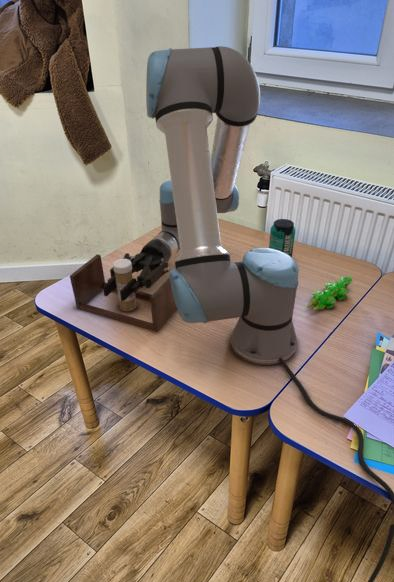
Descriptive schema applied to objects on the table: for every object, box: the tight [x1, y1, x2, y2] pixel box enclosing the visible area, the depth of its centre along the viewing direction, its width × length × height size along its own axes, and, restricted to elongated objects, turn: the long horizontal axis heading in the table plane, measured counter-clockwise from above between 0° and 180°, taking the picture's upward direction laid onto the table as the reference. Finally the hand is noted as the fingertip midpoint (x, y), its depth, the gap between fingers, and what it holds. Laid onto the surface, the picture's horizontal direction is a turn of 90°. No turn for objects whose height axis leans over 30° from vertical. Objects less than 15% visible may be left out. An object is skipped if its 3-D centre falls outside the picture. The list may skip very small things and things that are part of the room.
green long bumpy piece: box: [306, 275, 354, 311], centre depth 123 cm, size 7×18×4 cm, turn 134°
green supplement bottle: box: [268, 218, 296, 258], centre depth 137 cm, size 7×7×12 cm
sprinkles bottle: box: [112, 258, 138, 312], centre depth 119 cm, size 5×5×13 cm
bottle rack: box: [69, 253, 178, 333], centre depth 120 cm, size 12×24×10 cm, turn 65°
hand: (113, 293), depth 115 cm, fingers closed on sprinkles bottle, 4 cm apart
